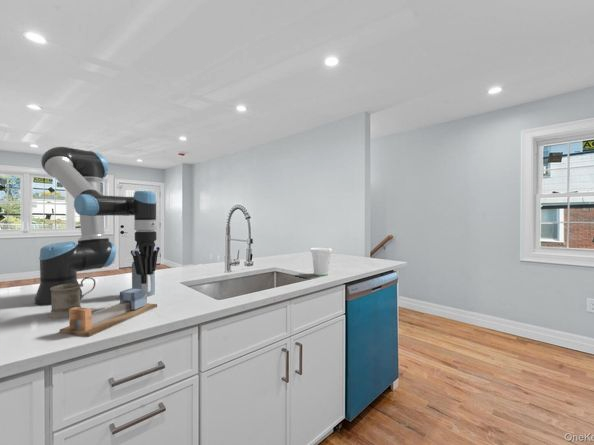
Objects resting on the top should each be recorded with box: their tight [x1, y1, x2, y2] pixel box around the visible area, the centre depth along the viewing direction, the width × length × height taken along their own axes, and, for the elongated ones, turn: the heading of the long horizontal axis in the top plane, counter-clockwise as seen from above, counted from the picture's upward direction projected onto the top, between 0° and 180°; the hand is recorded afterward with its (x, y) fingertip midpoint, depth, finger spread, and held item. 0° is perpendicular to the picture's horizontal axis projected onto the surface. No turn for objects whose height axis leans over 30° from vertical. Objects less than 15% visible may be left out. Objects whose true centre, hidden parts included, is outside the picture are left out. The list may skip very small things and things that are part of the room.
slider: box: [119, 287, 145, 310], centre depth 107 cm, size 6×5×6 cm
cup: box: [310, 247, 333, 277], centre depth 172 cm, size 12×12×15 cm
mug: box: [47, 275, 96, 319], centre depth 106 cm, size 14×10×12 cm
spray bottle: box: [131, 247, 156, 298], centre depth 128 cm, size 9×9×25 cm
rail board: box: [59, 294, 158, 337], centre depth 99 cm, size 11×28×7 cm, turn 166°
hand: (146, 291), depth 114 cm, fingers closed
